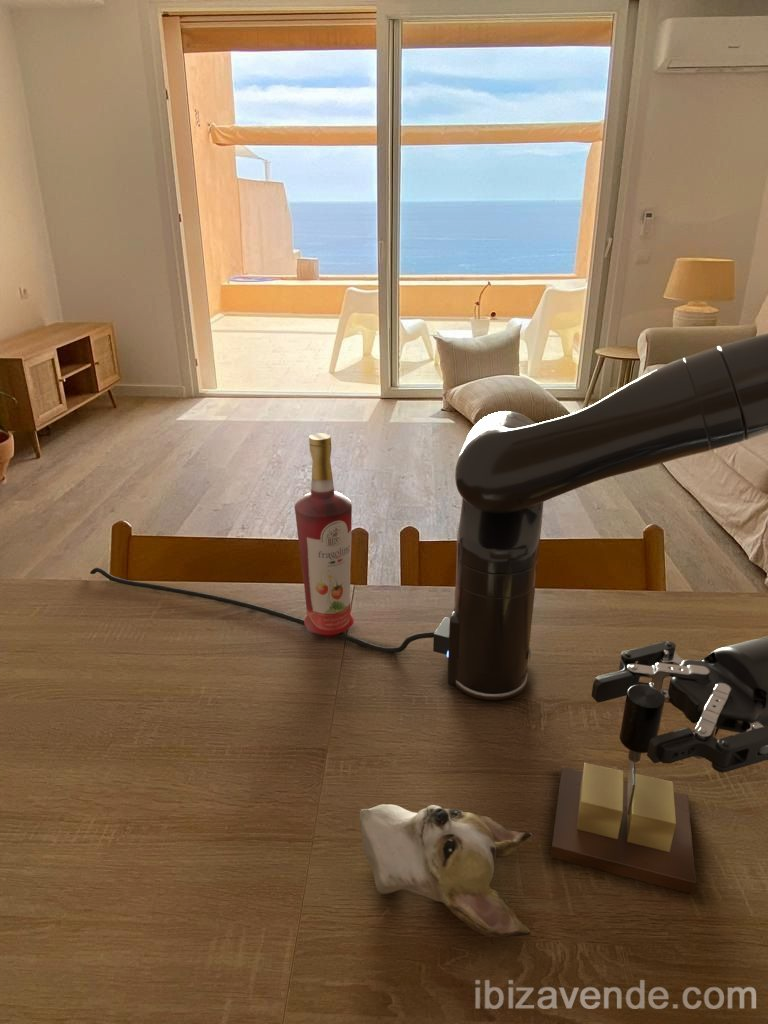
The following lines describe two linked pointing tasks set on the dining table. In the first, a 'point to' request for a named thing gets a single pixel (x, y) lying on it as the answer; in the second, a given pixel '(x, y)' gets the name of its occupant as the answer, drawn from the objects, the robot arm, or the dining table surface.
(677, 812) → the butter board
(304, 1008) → the dining table surface
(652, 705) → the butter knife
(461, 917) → the ceramic sculpture
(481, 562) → the robot arm
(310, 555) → the liquor
